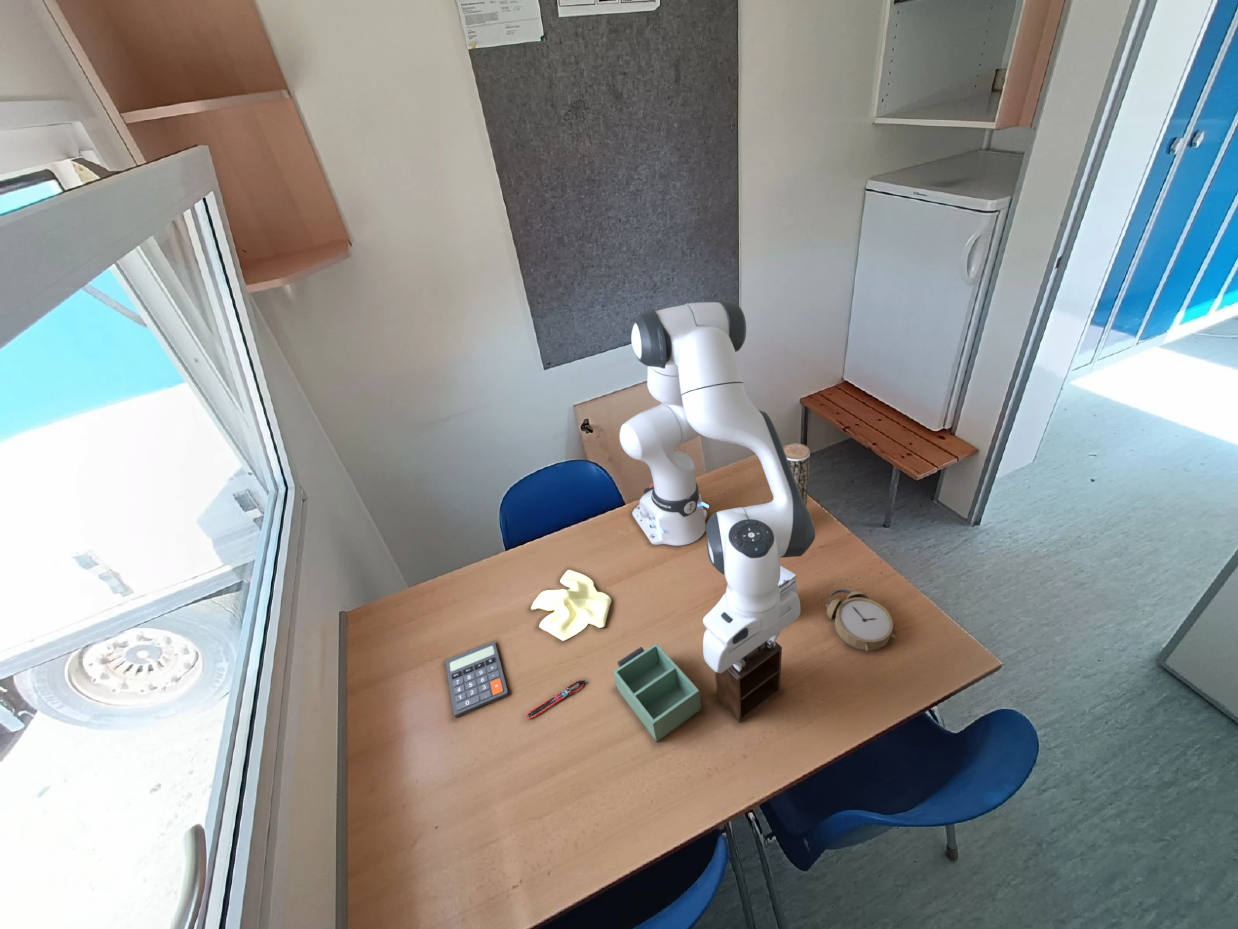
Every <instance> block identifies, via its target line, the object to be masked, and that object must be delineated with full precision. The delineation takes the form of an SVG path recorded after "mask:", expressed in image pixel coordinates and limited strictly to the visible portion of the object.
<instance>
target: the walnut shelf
mask: <svg viewBox="0 0 1238 929" xmlns="http://www.w3.org/2000/svg"><path fill="white" fill-rule="evenodd" d="M764 643H765V642H764ZM764 643H763V644H764ZM763 644H762V645H760V646H759V647H757V648H756V649H755V650H753V651H752V652H750V653H749V654H747V655H746V656H745V657H743V658H742V660H744V661H745V668H743V669H742V670H741V671H738V670H737V669H736V668H735V667H734V666H733V665H732V666H731V667H729V668H728V669H726V670H725V671H724V672H722V673H717V672H715V671H714V676H715V677H714V678H715V692H716V699H717V700H718V701H719V702H720V703H721V704H722V706H723V707H724V708H725V709H726V710H727V711H728V712H729V713H730V714H731V715H732V717H733V718H734V719H735V720H736V721H737V722H738V723H741V721H743V720H744V719H746V718H747V717H748V716H749V715H751V714H752V713H753V712H755V711H756V710H757V709H758V708H759V707H761V706H762V705H764V704H765V703H767V701H769V700H770V699H771V698H773V697H774V696H776V694H778V693H779V692H781V683H782V682H781V680H782V658H783V657H782V656H783V655H782V654H783V646H781V645H780V644H779V643H778V642H777V641H776V642H775V646H774V647H772V648H771V649H770V650H769V649H767V647H765V646H764V645H763Z"/></svg>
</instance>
